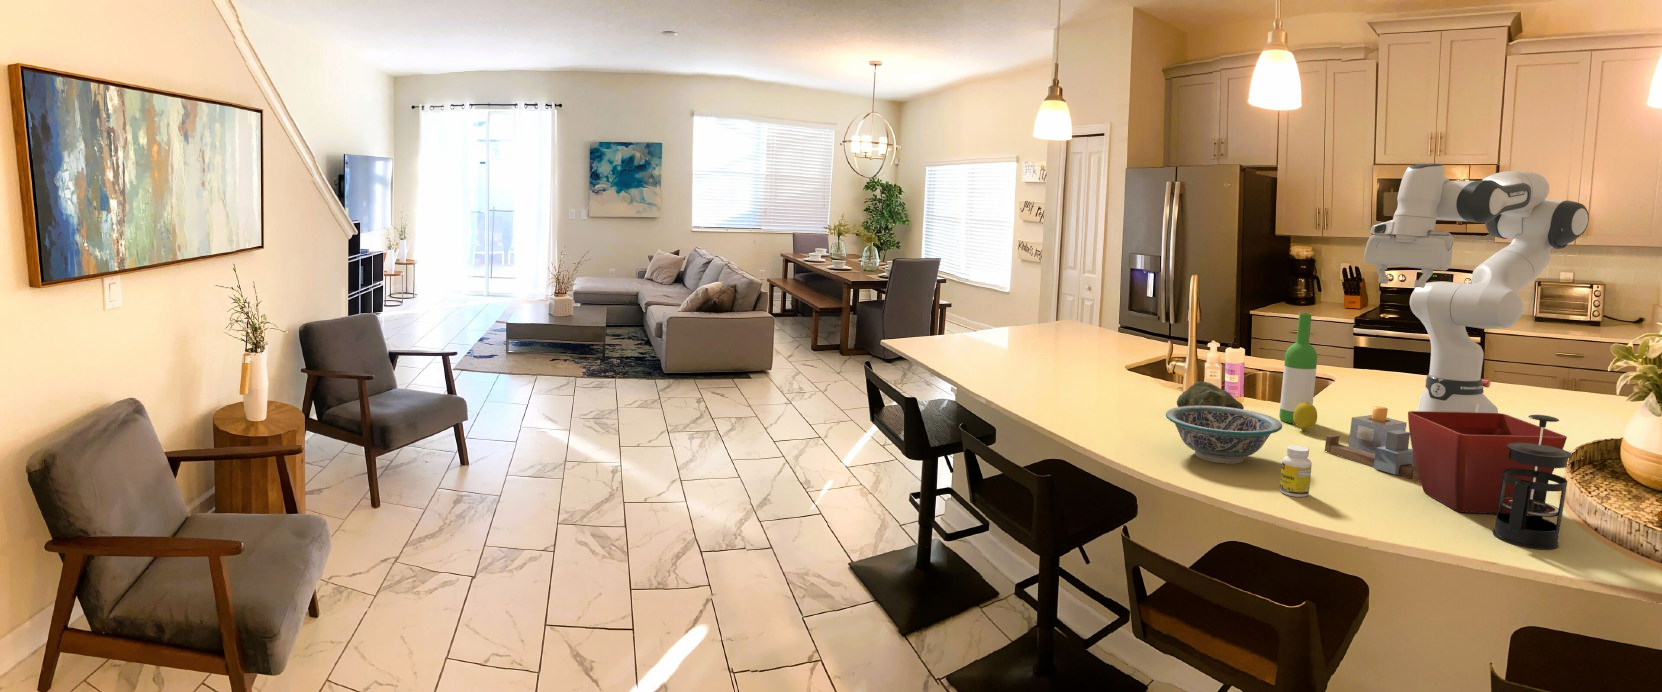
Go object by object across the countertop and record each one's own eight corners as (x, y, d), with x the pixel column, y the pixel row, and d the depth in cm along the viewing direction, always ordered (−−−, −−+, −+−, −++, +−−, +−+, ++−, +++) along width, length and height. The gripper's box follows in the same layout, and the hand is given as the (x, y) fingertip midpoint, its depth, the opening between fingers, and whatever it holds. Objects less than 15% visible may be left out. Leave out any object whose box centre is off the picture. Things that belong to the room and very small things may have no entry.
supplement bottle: (1273, 489, 181) (1278, 444, 179) (1298, 488, 181) (1302, 444, 180) (1289, 498, 176) (1294, 452, 174) (1314, 497, 176) (1319, 451, 174)
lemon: (1318, 434, 223) (1322, 404, 222) (1295, 433, 224) (1298, 403, 223) (1311, 428, 228) (1314, 399, 227) (1289, 427, 230) (1292, 398, 228)
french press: (1505, 525, 162) (1523, 406, 158) (1568, 541, 154) (1588, 417, 150) (1480, 538, 155) (1497, 415, 151) (1544, 556, 148) (1564, 427, 144)
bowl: (1269, 447, 211) (1273, 410, 209) (1286, 479, 188) (1291, 436, 186) (1161, 438, 219) (1164, 401, 217) (1164, 466, 196) (1167, 426, 194)
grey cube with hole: (1371, 445, 213) (1375, 414, 212) (1402, 454, 206) (1406, 422, 204) (1347, 449, 210) (1351, 417, 209) (1378, 458, 203) (1382, 425, 201)
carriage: (1393, 465, 197) (1397, 427, 195) (1414, 471, 192) (1419, 433, 191) (1373, 468, 194) (1378, 430, 193) (1394, 474, 190) (1399, 436, 188)
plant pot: (1396, 485, 184) (1405, 409, 181) (1491, 489, 182) (1502, 412, 179) (1450, 518, 165) (1461, 434, 162) (1557, 523, 163) (1570, 437, 160)
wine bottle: (1293, 426, 231) (1304, 316, 226) (1272, 418, 239) (1282, 312, 233) (1317, 424, 233) (1329, 315, 228) (1295, 417, 240) (1306, 311, 235)
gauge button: (1376, 425, 209) (1378, 405, 208) (1388, 428, 206) (1390, 408, 205) (1367, 426, 208) (1370, 406, 207) (1379, 430, 205) (1381, 409, 204)
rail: (1333, 450, 209) (1335, 434, 208) (1426, 478, 188) (1429, 461, 187) (1324, 451, 208) (1326, 435, 207) (1417, 480, 187) (1419, 462, 186)
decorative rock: (1216, 408, 250) (1219, 375, 248) (1249, 422, 235) (1252, 387, 233) (1168, 410, 248) (1171, 376, 246) (1198, 424, 233) (1201, 388, 231)
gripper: (1464, 233, 202) (1451, 291, 204) (1382, 229, 221) (1371, 282, 223) (1446, 230, 200) (1433, 289, 202) (1365, 226, 218) (1354, 280, 220)
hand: (1400, 285), depth 212 cm, fingers open, 8 cm apart
